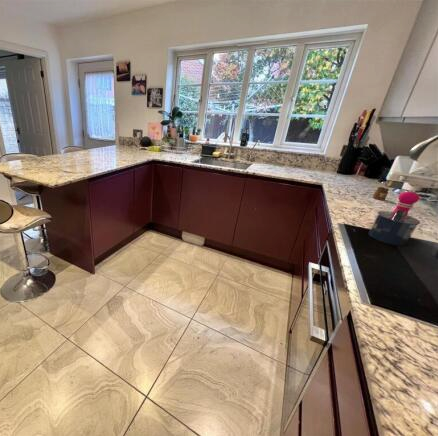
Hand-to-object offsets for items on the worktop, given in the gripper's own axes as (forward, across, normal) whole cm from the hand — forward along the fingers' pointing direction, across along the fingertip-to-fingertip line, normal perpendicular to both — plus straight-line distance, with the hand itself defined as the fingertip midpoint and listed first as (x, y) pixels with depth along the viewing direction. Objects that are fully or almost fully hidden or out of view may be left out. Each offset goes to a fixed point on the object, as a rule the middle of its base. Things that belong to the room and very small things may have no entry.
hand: (418, 182), depth 103 cm
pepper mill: (+12, 0, +21) cm, 24 cm away
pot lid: (+24, 0, +12) cm, 27 cm away
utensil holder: (-46, -13, +21) cm, 52 cm away
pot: (+24, 0, +21) cm, 32 cm away
